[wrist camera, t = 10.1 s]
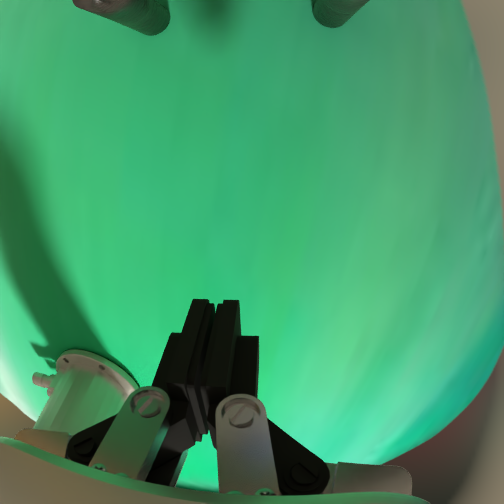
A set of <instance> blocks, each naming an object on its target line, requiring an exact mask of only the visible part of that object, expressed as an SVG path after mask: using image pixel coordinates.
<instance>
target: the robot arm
mask: <svg viewBox="0 0 504 504" xmlns="http://www.w3.org/2000/svg"><path fill="white" fill-rule="evenodd" d="M56 371H57V373H56V375H54V374H52V375H50V376H47V375H45V374H42V373H38V372H35V373H34V374H33V377H32V380H33V383H34V384H35V385H37V386H41V387H44V388H45V387H46V388H48V390H47V394H48V396H50V397H49V399H48V401H47V403H46V405H45V407H44V408H43V410H42V412H41V414H40V416H39V418H38V420H37V422H36V424H35V426H34V427H33V429H32V428H26V429H23V430H21V431H19V432H18V433H17V434H16V436H15V438H14V439H11V438H7V437H0V504H430V503H429V502H427V501H425V500H423V499H420V498H417V497H414V496H411V491H412V480H411V476H410V474H409V473H408V471H407V470H405V469H403V468H402V467H398V466H389V465H369V464H355V463H345V462H338V463H337V464H333V463H325V462H324V461H323V460H322V459H320V458H319V457H318V456H316V455H315V454H313V453H312V452H311V451H309V450H308V449H307V448H305V447H304V446H303V445H301V444H300V443H299V442H297V441H296V440H295V439H293V438H292V437H291V436H289V435H288V434H287V433H285V432H284V431H283V430H282V429H280V428H279V427H278V426H277V425H275V424H274V423H273V422H272V421H270V420H269V419H268V418H267V415H266V410H265V407H264V405H263V403H262V402H261V401H260V400H259V399H257V393H258V373H259V336H241V324H240V305H239V300H224V301H223V304H218V305H217V309H216V313H215V306H214V303H209V300H208V299H193V300H192V303H191V306H190V309H189V312H188V315H187V318H186V321H185V323H184V326H183V329H182V332H181V333H173V332H172V333H171V334H170V336H169V339H168V342H167V344H166V347H165V350H164V352H163V355H162V358H161V361H160V364H159V366H158V369H157V372H156V375H155V378H154V380H153V383H152V386H146V387H141V388H139V387H138V385H137V384H136V382H135V381H134V380H133V379H132V378H131V377H130V376H129V375H128V374H127V373H126V372H125V371H124V370H122V369H121V368H120V367H118V366H117V365H116V364H114V363H112V362H111V361H109V360H107V359H105V358H103V357H101V356H99V355H97V354H94V353H92V352H88V351H84V350H76V349H73V350H67V351H65V352H63V353H62V354H61V355H60V357H59V358H58V360H57V362H56ZM208 431H210V435H211V439H212V443H213V446H214V448H215V449H216V450H217V462H218V481H219V493H213V492H204V491H196V490H189V489H182V488H175V485H176V483H177V480H178V478H179V475H180V473H181V470H182V467H183V465H184V462H185V460H186V457H187V454H188V449H189V448H190V447H192V446H194V445H195V442H196V441H199V442H201V441H202V435H203V434H208Z"/></svg>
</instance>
